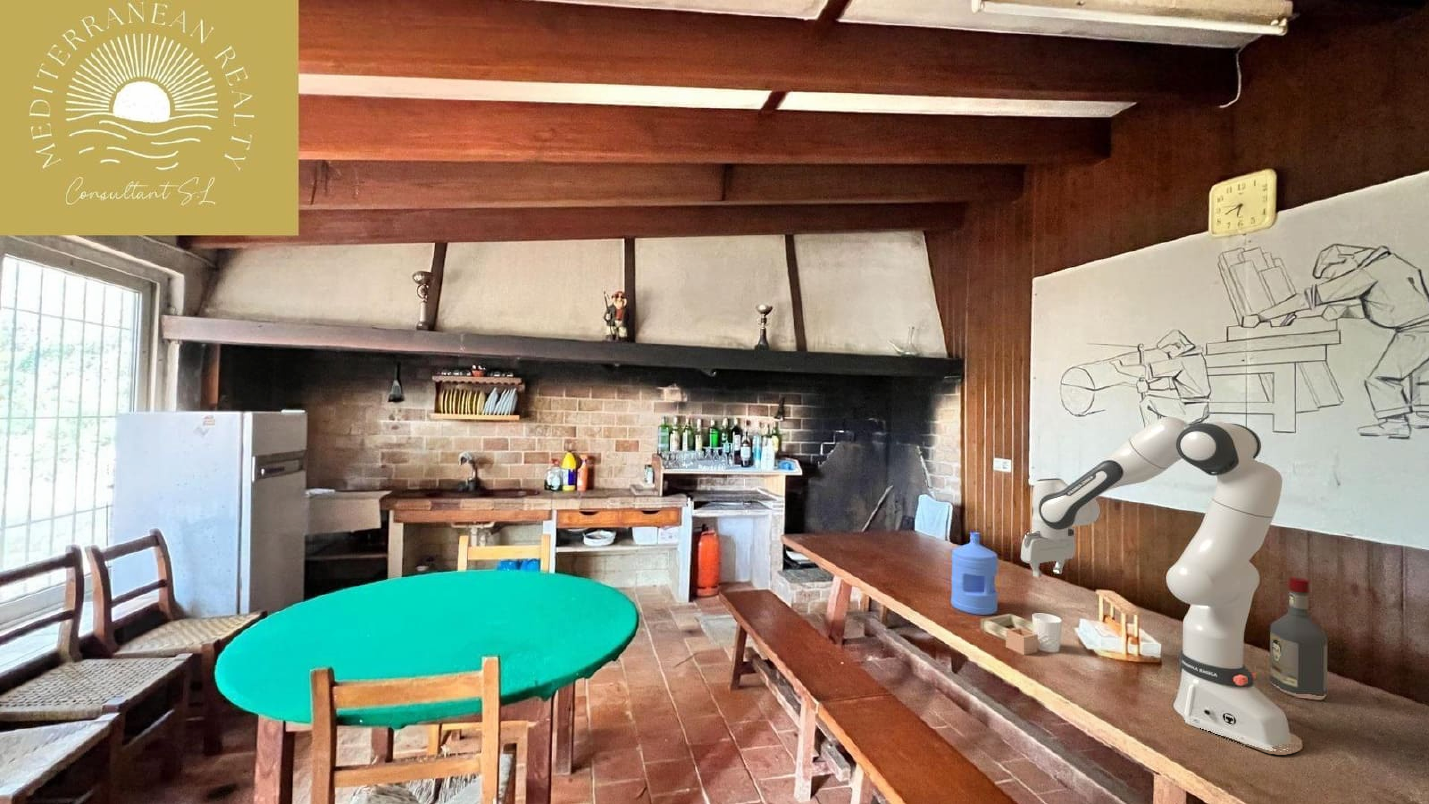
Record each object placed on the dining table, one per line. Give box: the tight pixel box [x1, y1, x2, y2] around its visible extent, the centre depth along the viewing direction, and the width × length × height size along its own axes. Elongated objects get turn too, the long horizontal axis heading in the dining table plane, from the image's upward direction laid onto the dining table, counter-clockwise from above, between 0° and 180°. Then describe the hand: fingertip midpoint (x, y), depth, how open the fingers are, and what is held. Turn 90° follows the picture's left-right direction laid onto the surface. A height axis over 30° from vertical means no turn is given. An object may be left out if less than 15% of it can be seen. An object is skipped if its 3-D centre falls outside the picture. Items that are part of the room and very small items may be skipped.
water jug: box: [950, 531, 999, 616], centre depth 209 cm, size 16×16×28 cm
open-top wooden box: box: [1005, 627, 1039, 656], centre depth 171 cm, size 6×6×6 cm
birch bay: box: [980, 613, 1033, 641], centre depth 184 cm, size 13×14×4 cm
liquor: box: [1269, 576, 1328, 696], centre depth 149 cm, size 9×9×30 cm
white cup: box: [1031, 612, 1063, 653], centre depth 173 cm, size 8×8×10 cm
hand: (1047, 575), depth 173 cm, fingers open, 8 cm apart
